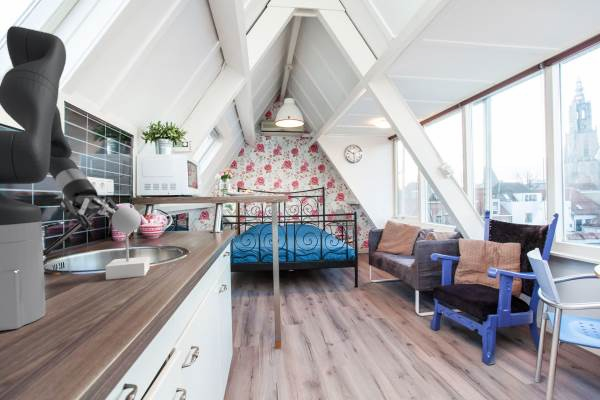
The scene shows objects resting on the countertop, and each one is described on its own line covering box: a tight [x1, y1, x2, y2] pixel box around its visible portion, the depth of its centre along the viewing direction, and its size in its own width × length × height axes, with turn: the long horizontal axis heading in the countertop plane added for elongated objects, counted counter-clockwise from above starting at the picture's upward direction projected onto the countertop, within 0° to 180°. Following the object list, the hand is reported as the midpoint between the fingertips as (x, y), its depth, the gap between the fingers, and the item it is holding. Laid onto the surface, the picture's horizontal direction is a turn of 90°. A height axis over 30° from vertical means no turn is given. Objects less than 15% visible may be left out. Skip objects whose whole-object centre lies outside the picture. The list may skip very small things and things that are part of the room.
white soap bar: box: [105, 256, 150, 281], centre depth 84 cm, size 9×9×4 cm
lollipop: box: [110, 206, 142, 261], centre depth 84 cm, size 7×7×15 cm
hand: (104, 225), depth 88 cm, fingers open, 8 cm apart
